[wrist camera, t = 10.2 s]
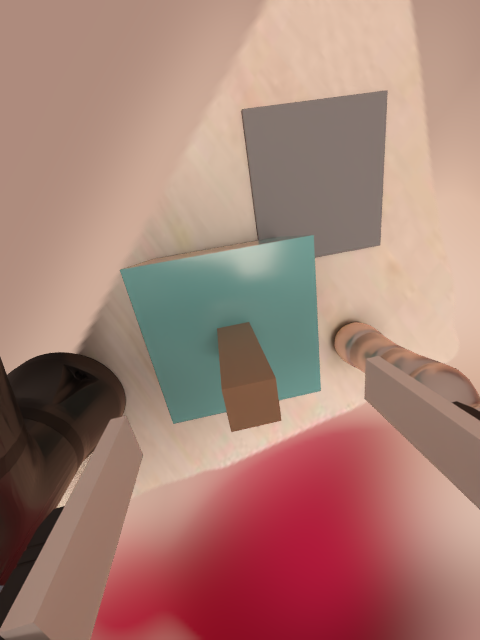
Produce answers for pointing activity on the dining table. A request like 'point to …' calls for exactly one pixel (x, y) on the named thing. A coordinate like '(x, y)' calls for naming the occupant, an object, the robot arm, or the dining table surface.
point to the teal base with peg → (231, 327)
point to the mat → (319, 170)
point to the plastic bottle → (404, 362)
